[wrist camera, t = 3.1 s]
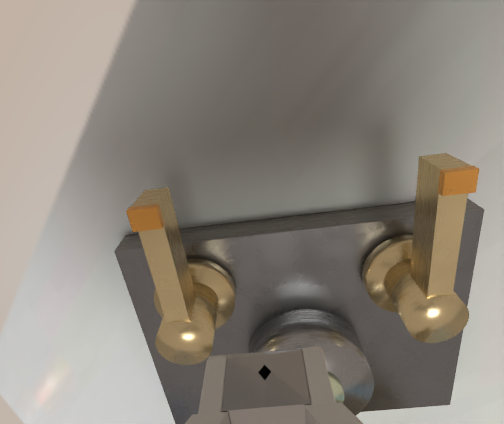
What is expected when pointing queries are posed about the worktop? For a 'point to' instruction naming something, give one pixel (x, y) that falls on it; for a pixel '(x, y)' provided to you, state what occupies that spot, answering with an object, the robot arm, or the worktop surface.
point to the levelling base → (311, 305)
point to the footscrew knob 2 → (426, 254)
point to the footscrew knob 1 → (180, 282)
